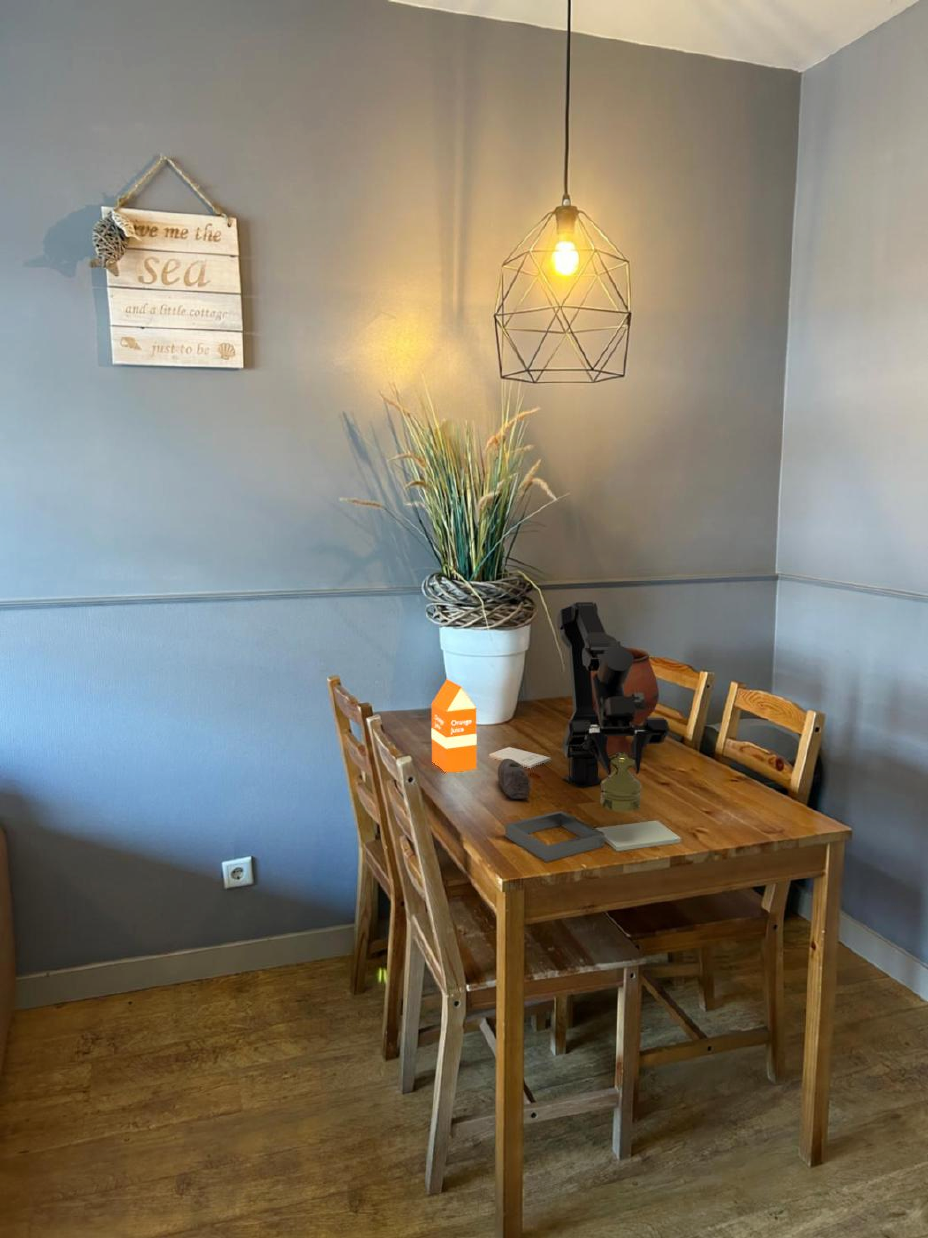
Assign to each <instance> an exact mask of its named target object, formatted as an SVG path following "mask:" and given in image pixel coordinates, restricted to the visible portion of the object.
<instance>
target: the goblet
mask: <svg viewBox="0 0 928 1238" xmlns="http://www.w3.org/2000/svg"><path fill="white" fill-rule="evenodd" d="M626 648H627V649H628V650H629V651H630V652H631V653H632V655H633V657H634V662H633V665H632V668H631V670H630V673H629V675H628V678H627V680H626V682H625V683H623V688H624V693H625V696H632V694H634V693H643V694H644V698H645V709H644V710H642V711H636V714H633V716H634V720H633V722H630V724H631V725H642V723H644V721H645V719H646V718H650V715H652V713H653V712H654V711H655V709H656V707H657V705H658V702H659V696H660V695H659V694H660V691H659V687H658V682H657V681H658V680H657V677H656V674H655V672H654V669H653V667H652V666H653V665H652V664H651V661H650V655H649V654H648V653H647V652H646V651H643V650H640V649H636V648H631V647H626ZM597 672H598V671H591V680H592V678H593V677H594V675H595V674H596V673H597ZM592 693H593V705H594V710H595V712H596V710H597V707H596V701H595V695H594V689H593V683H592ZM631 744H632V743H631V742H630V741H629V740H628V739H627V736H610V737H608V740H607V745H606V750H607V754H608V758H609V757H610V756H611V755H613V754H617V753H618V752H625V753H627V754H628V755H631V756H632V752H631Z"/></svg>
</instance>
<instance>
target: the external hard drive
mask: <svg viewBox="0 0 928 1238" xmlns="http://www.w3.org/2000/svg"><path fill="white" fill-rule="evenodd" d="M490 758H493V759H492V760H494V759H497V760H496V761H498V760H501V761H502V760H504V759H512V760H514V761H516V762H518V763H519V764H520V765H522V766H523V768H524V767H527V768H526V769H528V768H530V769H529V770H531V768H532V767H534V766H536V765H539V766H540V764H541V765H543V764H542V763H544V764H546V763H545V762H547V761H549V760H551V761H552V758H551V757H550V756H545V755H542V754H538V753H534V752H530V751H526V750H522V749H518V748H514V747H510V746H508V747H505V748H502V749H500V750H497V751H494V752H491V753H489V755H488V759H490ZM501 761H500V762H501ZM549 762H550V761H549ZM547 763H548V762H547ZM534 768H535V767H534ZM532 769H533V768H532Z"/></svg>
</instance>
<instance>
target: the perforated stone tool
mask: <svg viewBox="0 0 928 1238" xmlns="http://www.w3.org/2000/svg"><path fill="white" fill-rule="evenodd" d="M497 779H498V782H499V785H500V786H501V788H502V790H503V792H504V793H505V794H506V795H507V796H508V797H509V798H510V799H514V800H516V799H517V800H518V799H520V800H521V799H525V798H527V797H528V796H529V795H530V792H531V779H530V777H529V775H528V773H527V771H526V768H524V767H522V765H520V764H519V763H518V762H516V761H514V760H512V759H504V760H502V761H500V764H498V767H497Z"/></svg>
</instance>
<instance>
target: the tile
mask: <svg viewBox="0 0 928 1238" xmlns="http://www.w3.org/2000/svg"><path fill="white" fill-rule="evenodd" d="M594 828H595V827H594ZM595 829H597V830H599V831H601V832H603V833H605V834H604V842H606V843H607V844H608V845H609V846H610V847H611V848H613V850H615V851H616V852H621V851H627V850H634V849H642V848H643V849H644V848H651V847H656V846H657V847H658V846H666V845H672V844H679V843H681V842H682V838H681V837H680V836H679V835H677V834H676V833H674V832H673V831H672V830H670V829H669V828H668V827H667V826H666V825H664V824H663V823H661V822H660V821H659V820H649V821H642V822H634V823H626V824H618V825H609V826H603V827H596V828H595ZM681 844H682V843H681Z"/></svg>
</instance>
